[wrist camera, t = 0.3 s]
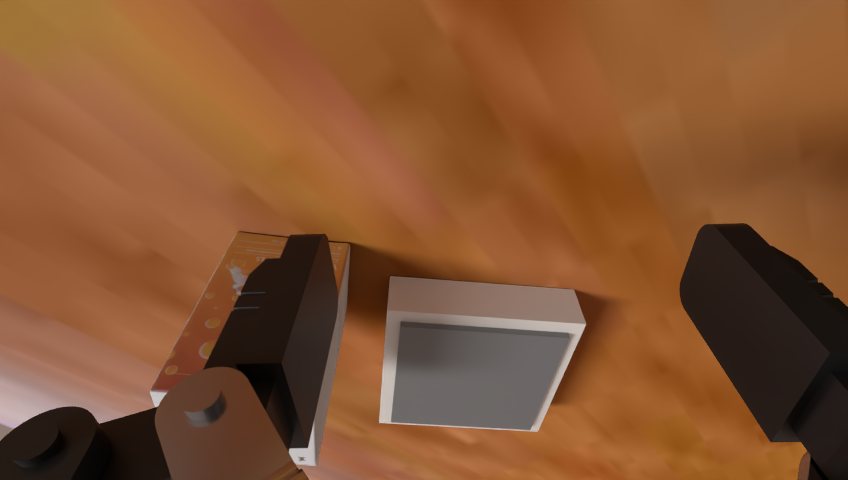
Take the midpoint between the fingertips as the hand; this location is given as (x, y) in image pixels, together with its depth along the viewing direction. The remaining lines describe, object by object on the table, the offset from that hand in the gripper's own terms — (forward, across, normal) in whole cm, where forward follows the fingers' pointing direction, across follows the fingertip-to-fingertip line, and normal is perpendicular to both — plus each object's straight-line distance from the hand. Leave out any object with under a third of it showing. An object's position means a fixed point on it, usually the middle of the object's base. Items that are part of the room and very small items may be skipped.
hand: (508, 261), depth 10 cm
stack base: (+19, -1, +24) cm, 31 cm away
